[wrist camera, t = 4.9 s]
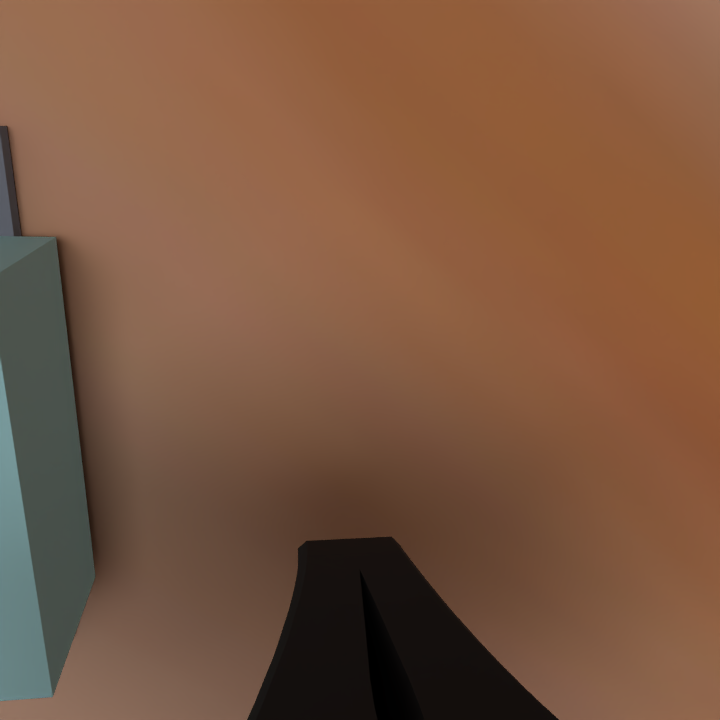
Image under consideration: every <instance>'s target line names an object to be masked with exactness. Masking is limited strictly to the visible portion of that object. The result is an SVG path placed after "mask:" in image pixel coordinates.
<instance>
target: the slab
mask: <svg viewBox="0 0 720 720" xmlns="http://www.w3.org/2000/svg"><path fill="white" fill-rule="evenodd" d="M94 579H95V569H94V560H93V551H92V543H91V534H90V526H89V517H88V508H87V500H86V491H85V483H84V474H83V466H82V457H81V448H80V440H79V431H78V423H77V414H76V405H75V397H74V388H73V380H72V371H71V362H70V354H69V345H68V337H67V328H66V319H65V311H64V302H63V294H62V285H61V276H60V268H59V259H58V251H57V242H56V237H23V236H0V701H6V700H19V699H33V698H46V697H53V695H54V692H55V689H56V686H57V683H58V681H59V678H60V675H61V672H62V669H63V667H64V664H65V661H66V658H67V655H68V653H69V650H70V647H71V644H72V641H73V638H74V636H75V633H76V630H77V627H78V624H79V622H80V619H81V616H82V613H83V610H84V607H85V605H86V602H87V599H88V596H89V593H90V591H91V588H92V585H93V582H94Z"/></svg>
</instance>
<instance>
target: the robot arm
mask: <svg viewBox="0 0 720 720" xmlns="http://www.w3.org/2000/svg"><path fill="white" fill-rule="evenodd" d="M247 720H559V719H557V718H556V717H555V716H554V715H553V714H552V713H551V712H550V711H549V710H548V709H547V708H545V707H544V706H543V705H542V704H541V703H540V702H539V701H538V700H537V699H536V698H535V697H534V696H533V695H532V694H531V693H529V692H528V691H527V690H526V689H525V688H524V687H523V686H522V685H521V684H520V683H519V682H518V681H517V680H516V679H515V678H514V677H513V676H512V675H511V674H510V673H509V672H508V671H507V670H506V669H505V668H504V667H503V666H502V665H501V664H500V663H499V662H498V661H497V660H496V659H495V658H494V657H493V655H492V654H491V653H490V652H489V651H488V650H487V649H486V648H485V647H484V646H483V645H482V644H481V643H480V642H479V641H478V639H477V638H476V637H475V636H474V635H473V634H472V633H471V632H470V630H469V629H468V628H467V627H466V626H465V625H464V624H463V623H462V622H461V620H460V619H459V618H458V617H457V616H456V615H455V614H454V613H453V611H452V610H451V609H450V608H449V607H448V606H447V604H446V603H445V602H444V601H443V600H442V599H441V597H440V596H439V595H438V594H437V592H436V591H435V590H434V589H433V588H432V586H431V585H430V584H429V583H428V581H427V580H426V579H425V578H424V576H423V575H422V574H421V573H420V571H419V570H418V569H417V567H416V566H415V565H414V564H413V562H412V561H411V560H410V558H409V557H408V556H407V554H406V553H405V552H404V550H403V549H402V548H401V546H400V545H399V544H398V543H397V542H396V541H395V540H394V539H393V538H392V537H376V538H356V539H336V540H317V541H306V542H305V543H304V544H303V545H301V546H300V547H299V548H298V572H297V578H296V583H295V588H294V592H293V596H292V600H291V604H290V608H289V611H288V614H287V617H286V621H285V624H284V627H283V630H282V633H281V636H280V639H279V642H278V646H277V648H276V651H275V654H274V657H273V659H272V662H271V664H270V667H269V669H268V672H267V674H266V676H265V679H264V681H263V684H262V686H261V689H260V691H259V694H258V696H257V699H256V701H255V704H254V706H253V708H252V710H251V713H250V715H249V717H248V719H247Z"/></svg>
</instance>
